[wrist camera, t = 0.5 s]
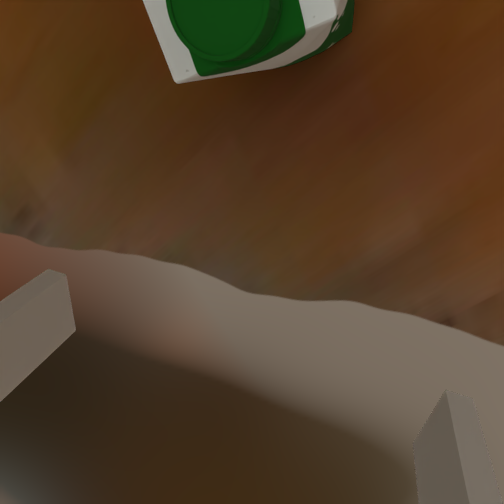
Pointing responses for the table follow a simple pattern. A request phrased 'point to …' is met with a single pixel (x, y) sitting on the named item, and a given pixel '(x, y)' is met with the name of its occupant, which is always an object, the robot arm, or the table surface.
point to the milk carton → (244, 33)
